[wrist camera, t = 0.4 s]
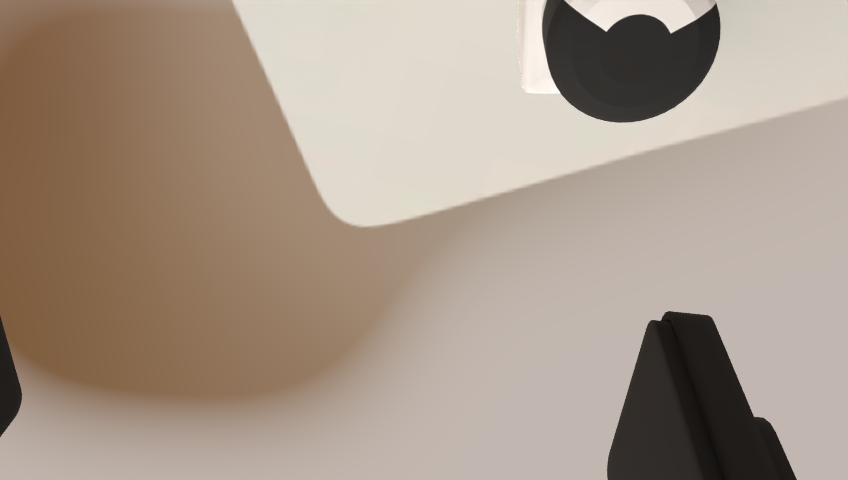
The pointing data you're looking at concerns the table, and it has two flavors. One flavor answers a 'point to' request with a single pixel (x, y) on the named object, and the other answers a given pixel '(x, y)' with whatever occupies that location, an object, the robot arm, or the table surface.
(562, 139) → the table surface
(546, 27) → the medicine bottle
